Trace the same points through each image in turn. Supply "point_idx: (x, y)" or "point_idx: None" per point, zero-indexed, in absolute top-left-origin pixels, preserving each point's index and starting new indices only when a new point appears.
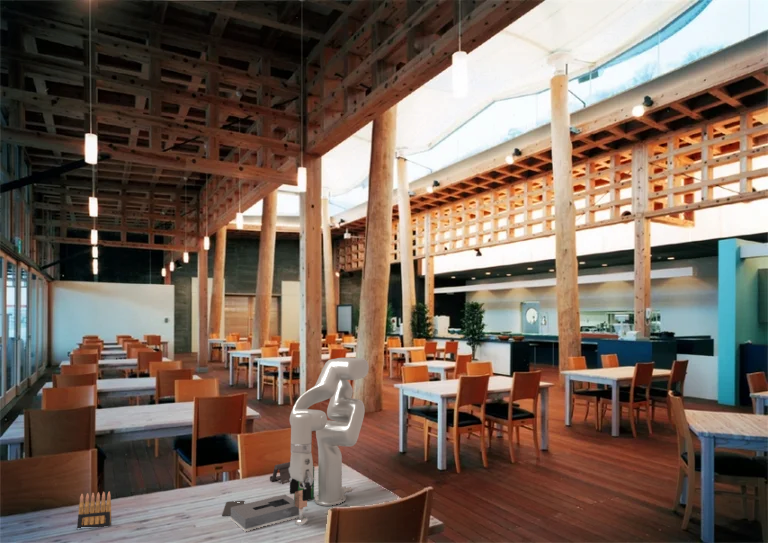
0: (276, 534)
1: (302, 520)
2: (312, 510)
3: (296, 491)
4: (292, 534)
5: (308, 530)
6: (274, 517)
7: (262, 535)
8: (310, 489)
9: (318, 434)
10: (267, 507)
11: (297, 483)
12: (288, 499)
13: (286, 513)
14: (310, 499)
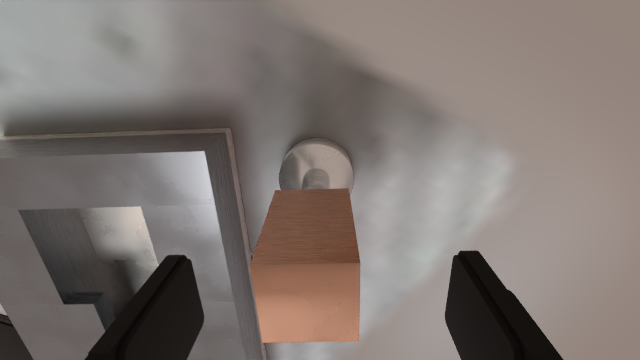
0: (368, 305)
1: (341, 183)
2: (150, 11)
3: (261, 330)
4: (417, 258)
5: (433, 182)
6: (247, 299)
7: (340, 344)
8: (537, 343)
9: None
10: None
11: (140, 345)
12: (47, 185)
13: (234, 242)
14: (473, 252)
